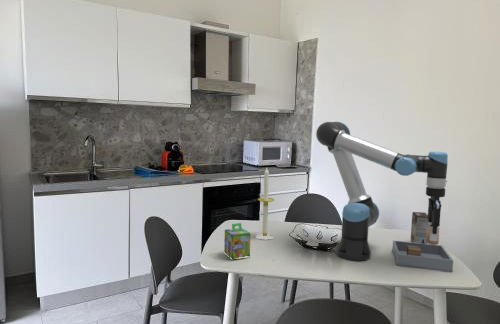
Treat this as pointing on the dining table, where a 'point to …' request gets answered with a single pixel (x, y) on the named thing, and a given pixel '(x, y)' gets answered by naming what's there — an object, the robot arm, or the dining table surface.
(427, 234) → the terracotta cylinder
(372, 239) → the dining table surface
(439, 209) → the robot arm
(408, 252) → the walnut cube
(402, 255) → the tray
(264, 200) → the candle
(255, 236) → the dining table surface
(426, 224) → the coffee box
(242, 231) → the chalk box
